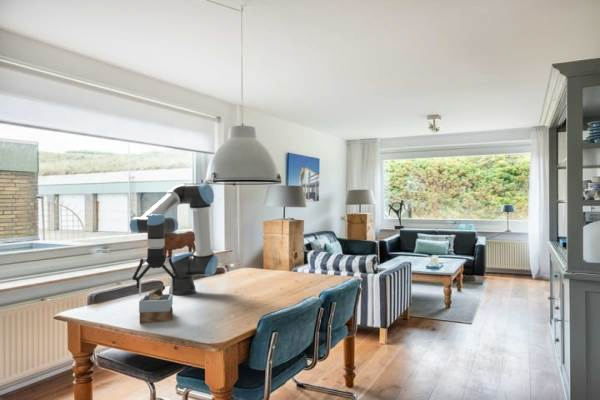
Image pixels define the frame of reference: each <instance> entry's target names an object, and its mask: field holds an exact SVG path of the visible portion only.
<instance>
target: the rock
mask: <svg viewBox="0 0 600 400" xmlns="http://www.w3.org/2000/svg"><path fill="white" fill-rule="evenodd" d="M165 290H166V286H165V285H164V284H161V285H160V286H159V287H156V288H155V289H154V290H152V291H150V292H148V294H147V295H148V296H149V298H150V299H149V300H164V298H163V297H162V296H163V294H164V293H163V291H165Z"/></svg>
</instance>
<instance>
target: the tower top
mask: <svg viewBox="0 0 600 400" xmlns="http://www.w3.org/2000/svg"><path fill="white" fill-rule="evenodd" d="M148 295H149V294H144V295H142V296H141V298H140V299H139V301H138V314H140V313H144V312H164V311H170V309H171V307H172V308H173V298H174V295H173V294H169V293H166V294H165V293H163V296H162V297H163V298H164V300H149V299H150V298H149V296H148Z"/></svg>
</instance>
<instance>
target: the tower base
mask: <svg viewBox="0 0 600 400" xmlns="http://www.w3.org/2000/svg"><path fill="white" fill-rule="evenodd" d="M173 313H174V311H173V306H172V307H171V309H170V311H164V312H144V313H139V325H140V324H151V323H163V322H173V321H174V320H173V319H174V318H173V317H174V315H173Z"/></svg>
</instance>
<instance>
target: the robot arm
mask: <svg viewBox="0 0 600 400" xmlns="http://www.w3.org/2000/svg"><path fill="white" fill-rule="evenodd" d="M214 199H215V194H214V189H213V188H212V186H211V185H210V184H208V183H203V182H202V183H201V182H200V183H199V182H197V183H196V182H195V183H180V184H177V185H175V186H174V187H172V188H170V189H168V191H166V192H165V193H164V195H163V197H162V198H161V199H160V200H158V201H157V203H155V204H154V205H153V206H152V207H151V208H149V209H148V210H147V211H146V212H145V213H143V214H142V216H140V217H133V218H131V220H130V222H129V228H130V231H131V232H133V233H136V234H147V239H146V240H147V241H146V242H147V244H146V245H147V246H146V247H147V253H146V254H147V256H146V258H140V260H139V264H138V266H137V268H136V269H135V272H134V274H133V276H132V280H133V281H136V288H137V289H138V290H139V291H138V293H139V296H142V280H141V279H142V278H143V277H144V276H145V274H146V273H147V272H148V271H149V270H150V269H156V268H157V269H160V268H162V269H163V270H164V271H165V272H166V273H167V274H168V275H169V276H170V278H169V279H170V286H169V289H168V291H169V292H168V294H173V296H185V295H191V294H195V293H196V292H197V290H196V285H195V282H194V279H193V278H194V276H202V277H203V276H205V277H206V276H207V277H208V276H209V277H210V276H213V275H214V274H216V271H217V269H218V266H219V265H218V264H219V258H218V256H217V255H215V253H214V250H212V248H211V247H212V246H211V232H210V220H209V219H210V218H209V209H210V208H211V204H213V203H214ZM183 204H185V205H189V208H190V209H191V210H192V216H193V227H194V228H193V232H194V244H195V251H194V252H191V251H190V252H183V253H177V254H174V255H173V256H172V257H167V258H166V257H165V255H166V254H165V252H166V251H165V250H166V249H165V248H164V247H165V241H166V240H165V239H166V237H165V235H166V234H173V233H174V232H176V231H178V228H179V223H178V220H177V219H176V218H174V217H170V216H169V217H165V216H166V215H167V214H168V213H169V212H170V211H171V210H172V209H173V208H176V207H178V206H179V205H183ZM145 263H147V265H146V267H145V268H144V269H143V270H142V272H141V273H140V274H139V272H140V270H141V268H142V266H143V265H144V264H145ZM165 263H169V266H170V267H171V269H172V270H170V269H169V268H168V267H167V266H166V265H165ZM171 271H172V272H171ZM138 274H139V275H138Z"/></svg>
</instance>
